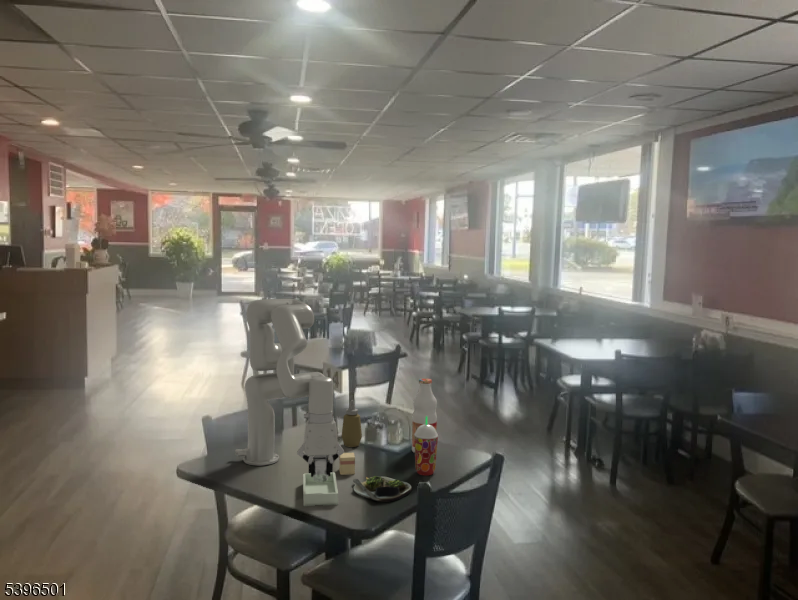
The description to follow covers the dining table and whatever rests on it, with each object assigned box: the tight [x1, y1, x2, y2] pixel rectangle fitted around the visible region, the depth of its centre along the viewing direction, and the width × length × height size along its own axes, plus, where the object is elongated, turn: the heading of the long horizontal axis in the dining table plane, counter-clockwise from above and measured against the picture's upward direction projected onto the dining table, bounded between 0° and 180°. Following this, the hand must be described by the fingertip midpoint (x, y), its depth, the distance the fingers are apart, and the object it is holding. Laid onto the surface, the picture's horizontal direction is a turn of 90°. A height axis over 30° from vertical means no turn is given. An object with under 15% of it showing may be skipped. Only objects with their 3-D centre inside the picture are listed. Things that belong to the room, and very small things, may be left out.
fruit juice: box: [411, 378, 438, 454], centre depth 246 cm, size 9×9×28 cm
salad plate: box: [352, 475, 413, 503], centre depth 208 cm, size 19×18×5 cm
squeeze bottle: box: [341, 399, 363, 448], centre depth 252 cm, size 8×8×18 cm
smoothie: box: [414, 416, 439, 477], centre depth 224 cm, size 8×8×20 cm
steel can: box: [313, 455, 329, 482], centre depth 199 cm, size 5×5×7 cm
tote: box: [302, 471, 339, 507], centre depth 204 cm, size 10×18×4 cm, turn 9°
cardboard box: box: [338, 452, 356, 476], centre depth 224 cm, size 5×5×6 cm
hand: (320, 474), depth 199 cm, fingers closed on steel can, 4 cm apart
